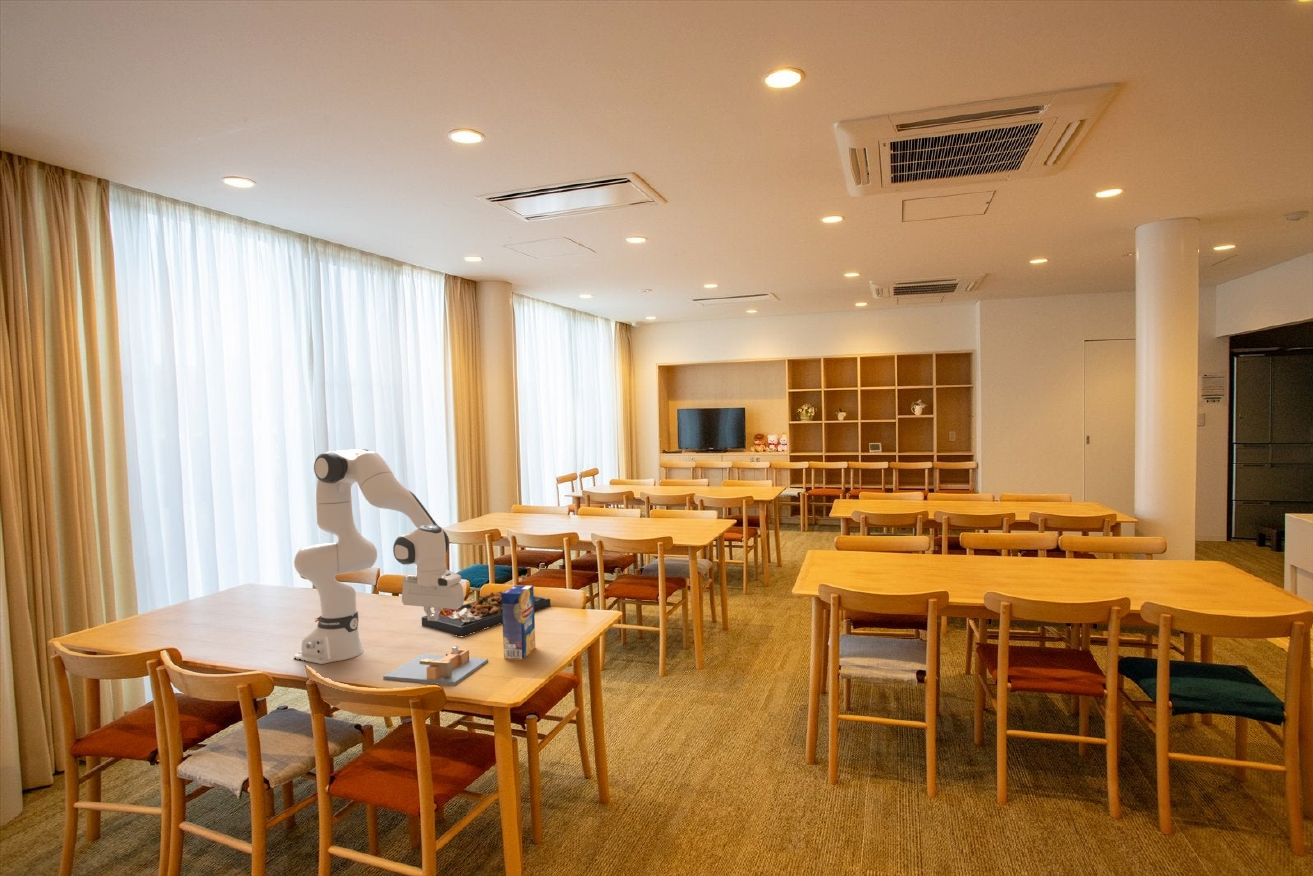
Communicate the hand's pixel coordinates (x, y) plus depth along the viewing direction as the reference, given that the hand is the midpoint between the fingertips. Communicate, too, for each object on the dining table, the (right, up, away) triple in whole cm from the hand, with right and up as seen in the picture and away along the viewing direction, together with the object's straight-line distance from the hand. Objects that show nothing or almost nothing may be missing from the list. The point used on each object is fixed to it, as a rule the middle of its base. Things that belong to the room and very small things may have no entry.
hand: (433, 620), depth 215 cm
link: (+4, -16, +2) cm, 16 cm away
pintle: (+5, -16, +7) cm, 18 cm away
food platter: (+2, -16, +61) cm, 63 cm away
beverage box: (+24, -16, +17) cm, 33 cm away
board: (0, -17, +4) cm, 17 cm away
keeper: (+2, -16, -4) cm, 17 cm away
